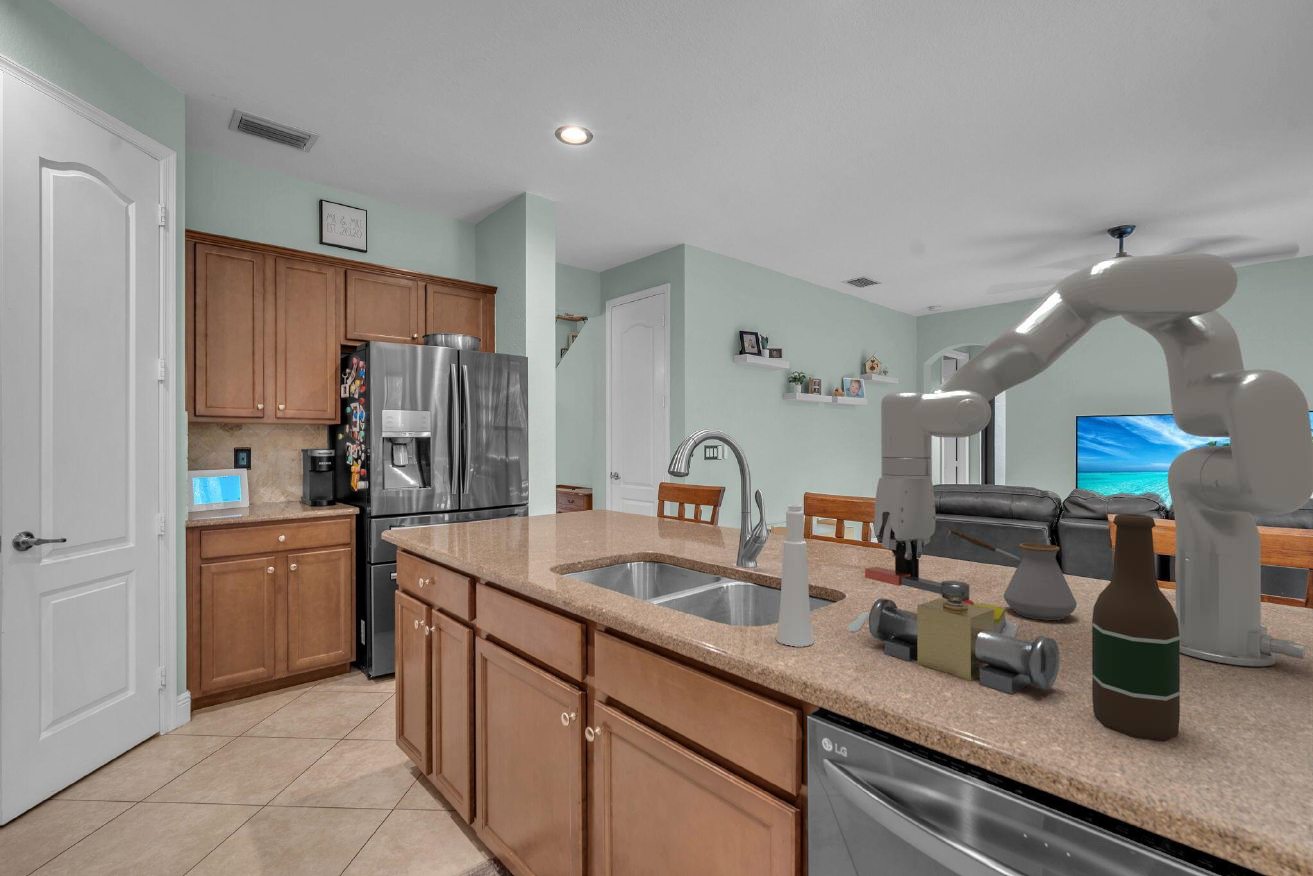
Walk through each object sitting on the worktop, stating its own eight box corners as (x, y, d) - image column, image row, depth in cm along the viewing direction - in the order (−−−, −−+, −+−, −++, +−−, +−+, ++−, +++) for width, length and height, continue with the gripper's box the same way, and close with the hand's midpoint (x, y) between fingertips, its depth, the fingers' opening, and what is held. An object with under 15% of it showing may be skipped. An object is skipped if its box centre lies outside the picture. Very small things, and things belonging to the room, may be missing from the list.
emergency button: (928, 589, 114) (1019, 602, 105) (928, 612, 114) (1019, 627, 105) (916, 600, 106) (1013, 615, 97) (916, 624, 106) (1013, 642, 97)
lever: (878, 576, 99) (878, 564, 99) (974, 598, 85) (974, 584, 85) (863, 578, 97) (863, 566, 97) (959, 602, 83) (959, 588, 83)
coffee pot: (1072, 611, 113) (1072, 532, 113) (1081, 627, 103) (1081, 541, 103) (947, 597, 123) (947, 524, 123) (944, 611, 113) (944, 532, 113)
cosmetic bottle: (803, 633, 100) (803, 502, 100) (820, 645, 94) (820, 506, 94) (769, 636, 99) (769, 503, 99) (785, 648, 93) (785, 507, 93)
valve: (1060, 688, 78) (1060, 615, 78) (1037, 702, 74) (1037, 625, 74) (892, 639, 97) (892, 581, 97) (867, 648, 93) (867, 587, 93)
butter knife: (839, 628, 102) (857, 630, 101) (870, 595, 125) (885, 596, 124) (839, 631, 102) (857, 633, 101) (870, 598, 125) (885, 599, 124)
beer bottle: (1075, 710, 71) (1075, 511, 72) (1135, 708, 72) (1135, 510, 72) (1132, 743, 64) (1132, 519, 64) (1199, 740, 64) (1198, 519, 64)
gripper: (914, 466, 103) (915, 572, 103) (856, 469, 95) (856, 584, 95) (955, 468, 97) (956, 581, 97) (896, 471, 89) (897, 594, 89)
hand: (906, 582), depth 96 cm, fingers closed
